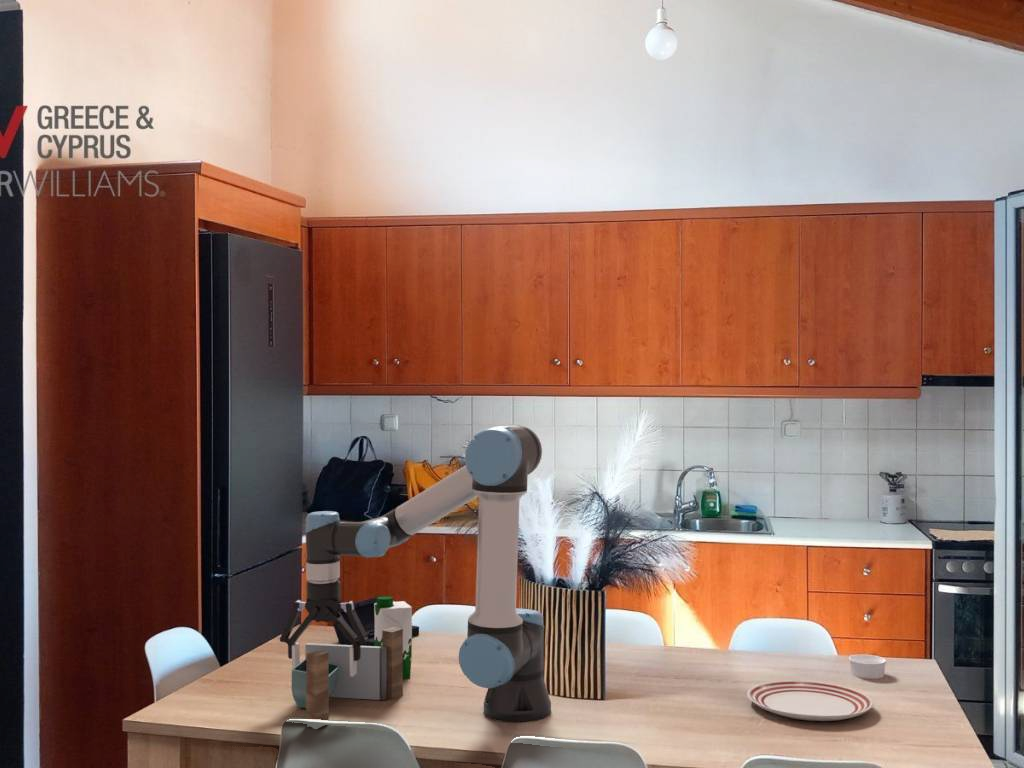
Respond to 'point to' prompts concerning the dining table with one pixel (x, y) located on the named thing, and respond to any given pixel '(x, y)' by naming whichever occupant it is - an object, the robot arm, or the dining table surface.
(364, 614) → the storage box
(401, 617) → the milk carton
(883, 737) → the dining table surface
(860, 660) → the ramekin
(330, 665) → the flower pot
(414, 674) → the dining table surface
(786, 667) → the dining table surface
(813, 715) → the dinner plate
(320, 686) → the door frame
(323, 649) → the door
